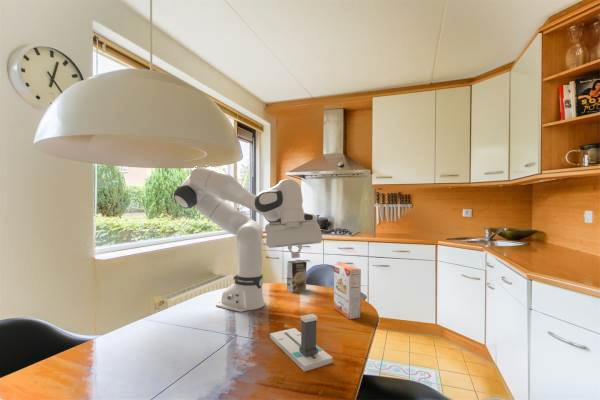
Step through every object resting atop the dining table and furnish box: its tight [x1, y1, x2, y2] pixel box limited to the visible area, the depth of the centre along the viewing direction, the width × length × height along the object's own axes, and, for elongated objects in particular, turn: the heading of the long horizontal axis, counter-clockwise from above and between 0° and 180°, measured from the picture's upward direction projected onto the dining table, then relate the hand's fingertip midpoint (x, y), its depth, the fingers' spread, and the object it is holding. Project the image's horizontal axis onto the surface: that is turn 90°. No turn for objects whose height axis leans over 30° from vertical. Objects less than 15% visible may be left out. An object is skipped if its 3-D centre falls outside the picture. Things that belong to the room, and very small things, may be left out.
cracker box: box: [333, 262, 362, 320], centre depth 128 cm, size 14×6×21 cm, turn 21°
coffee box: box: [286, 259, 307, 293], centre depth 161 cm, size 9×6×16 cm
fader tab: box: [299, 313, 318, 357], centre depth 90 cm, size 4×4×11 cm
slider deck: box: [269, 327, 334, 372], centre depth 95 cm, size 24×10×2 cm, turn 30°
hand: (295, 257), depth 102 cm, fingers closed
